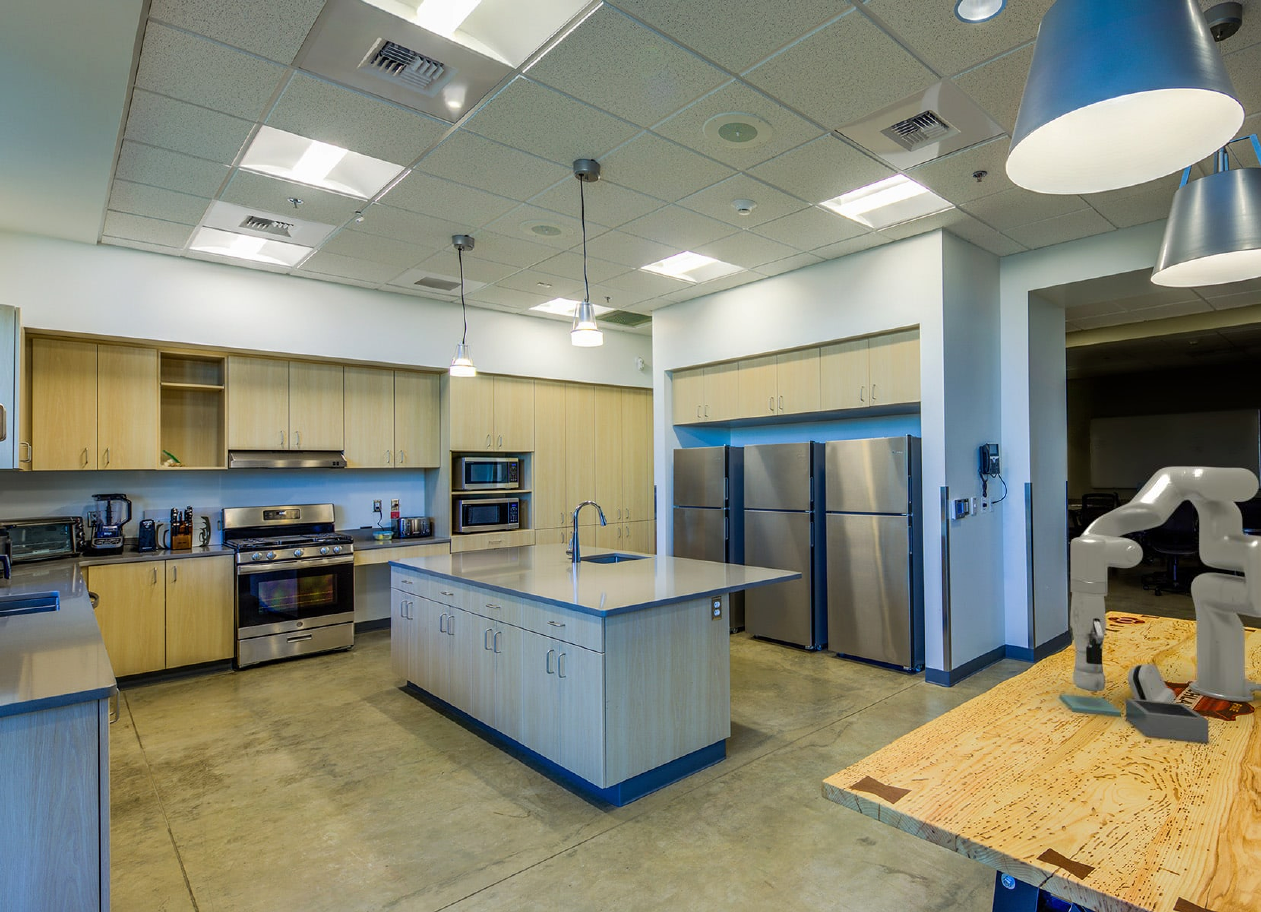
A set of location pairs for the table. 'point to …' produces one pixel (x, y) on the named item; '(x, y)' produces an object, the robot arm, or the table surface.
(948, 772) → the table surface
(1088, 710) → the board
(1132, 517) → the robot arm
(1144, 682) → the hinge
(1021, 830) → the table surface
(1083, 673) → the plastic bottle
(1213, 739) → the table surface
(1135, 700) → the square socket
